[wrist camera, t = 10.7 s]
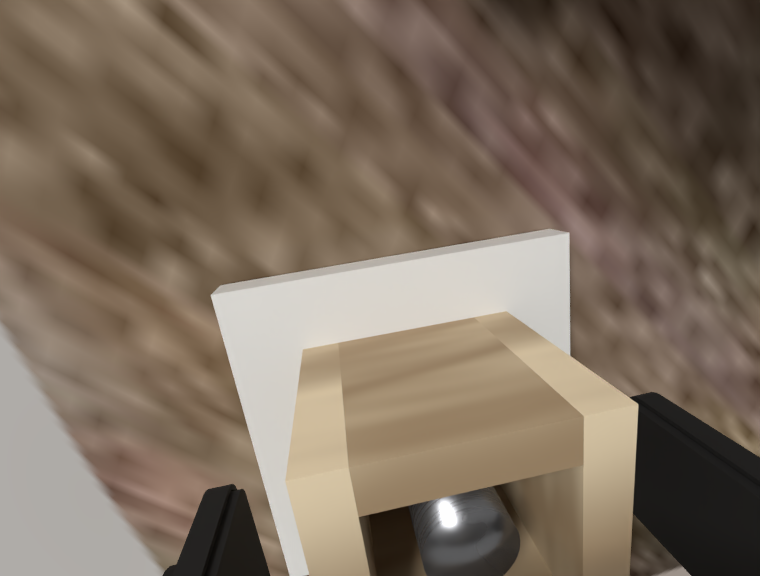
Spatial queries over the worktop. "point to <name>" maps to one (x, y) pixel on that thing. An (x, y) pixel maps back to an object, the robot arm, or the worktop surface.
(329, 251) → the worktop surface
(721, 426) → the worktop surface
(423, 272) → the pin plate
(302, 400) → the maple collar
